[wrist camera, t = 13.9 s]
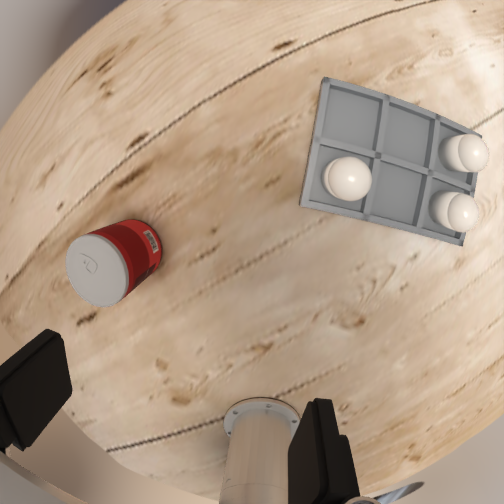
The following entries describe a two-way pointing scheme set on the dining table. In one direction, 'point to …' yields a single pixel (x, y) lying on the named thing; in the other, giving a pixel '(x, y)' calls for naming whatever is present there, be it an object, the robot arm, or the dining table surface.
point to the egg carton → (384, 158)
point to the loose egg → (346, 178)
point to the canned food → (112, 261)
